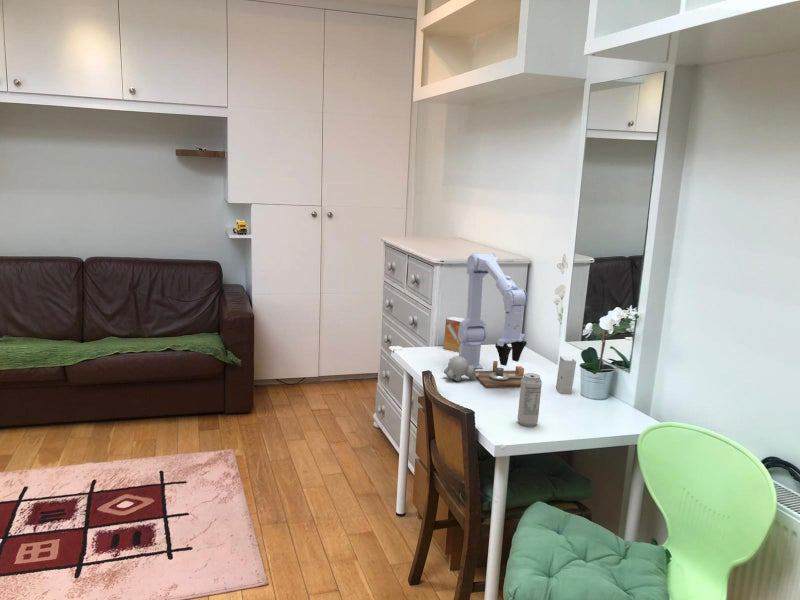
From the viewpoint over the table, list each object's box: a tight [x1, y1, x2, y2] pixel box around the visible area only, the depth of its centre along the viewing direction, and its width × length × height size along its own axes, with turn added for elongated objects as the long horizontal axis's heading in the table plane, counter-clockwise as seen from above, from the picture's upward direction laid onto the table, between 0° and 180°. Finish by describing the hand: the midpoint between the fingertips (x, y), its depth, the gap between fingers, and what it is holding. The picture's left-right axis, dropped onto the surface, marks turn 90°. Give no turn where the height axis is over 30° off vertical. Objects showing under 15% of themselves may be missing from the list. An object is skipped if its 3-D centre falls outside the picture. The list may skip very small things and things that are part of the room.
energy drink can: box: [517, 372, 543, 427], centre depth 202 cm, size 6×6×15 cm
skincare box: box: [555, 355, 577, 395], centre depth 234 cm, size 6×4×12 cm
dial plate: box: [489, 365, 525, 380], centre depth 241 cm, size 12×7×4 cm, turn 102°
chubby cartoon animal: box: [443, 355, 479, 382], centre depth 240 cm, size 7×12×8 cm, turn 98°
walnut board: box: [475, 360, 522, 389], centre depth 242 cm, size 16×17×5 cm
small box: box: [443, 316, 465, 353], centre depth 280 cm, size 8×6×13 cm
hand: (509, 362), depth 232 cm, fingers open, 7 cm apart
